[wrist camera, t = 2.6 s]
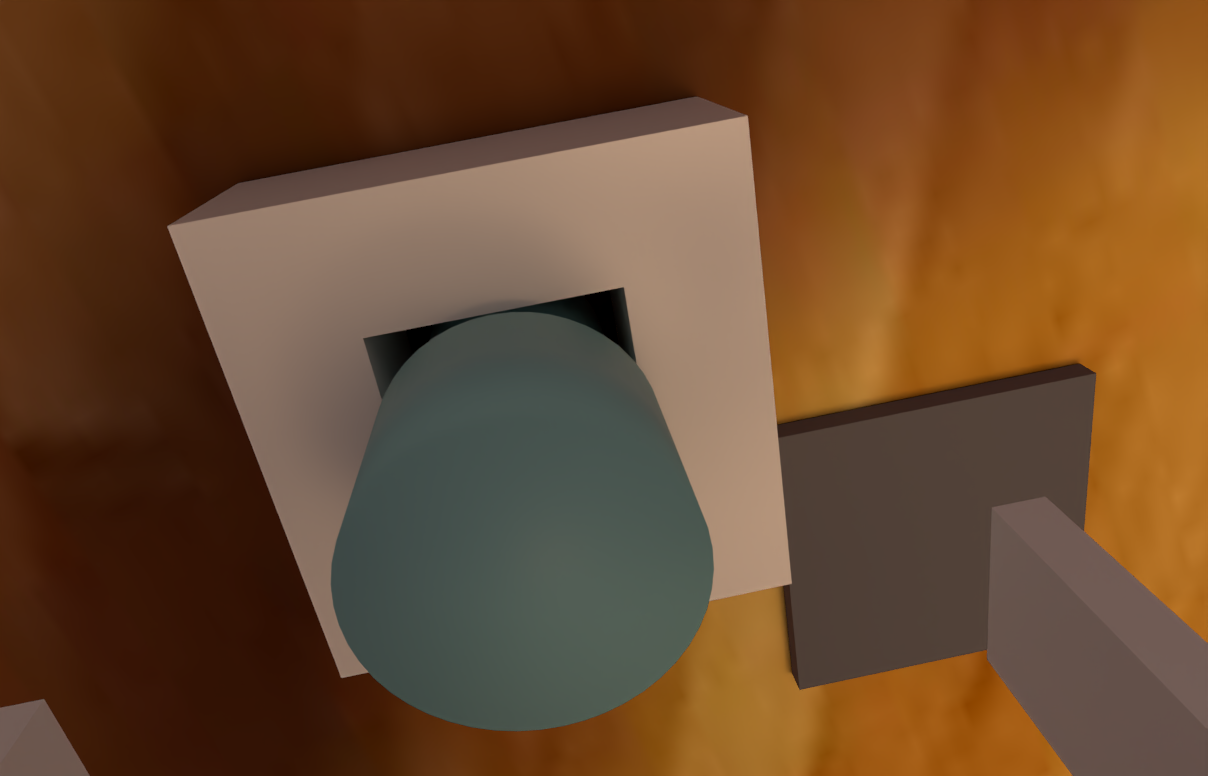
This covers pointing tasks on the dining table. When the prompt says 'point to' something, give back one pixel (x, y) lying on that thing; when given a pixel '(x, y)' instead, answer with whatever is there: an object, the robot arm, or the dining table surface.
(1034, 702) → the robot arm
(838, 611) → the slate mat
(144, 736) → the dining table surface
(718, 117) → the bore block
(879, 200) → the dining table surface
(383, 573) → the capped plug
